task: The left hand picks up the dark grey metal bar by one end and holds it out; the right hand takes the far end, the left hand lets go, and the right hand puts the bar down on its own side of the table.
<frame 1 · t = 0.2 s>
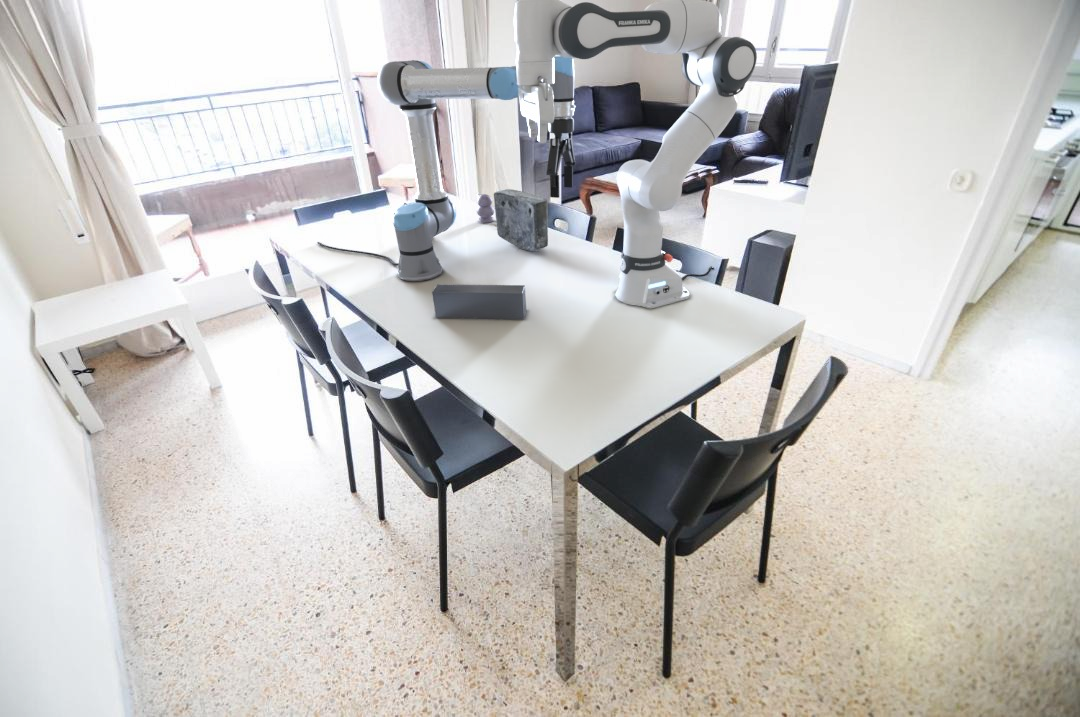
left hand: (561, 192, 156), 28 cm above the table, tool pointing down, fingers open, 13 cm apart
right hand: (537, 140, 123), 47 cm above the table, tool pointing down, fingers open, 8 cm apart
seal figurine: (419, 240, 208), on the table
concrete block: (524, 247, 197), on the table
purple stacked rounded piece: (486, 221, 230), on the table
bar: (481, 314, 147), on the table
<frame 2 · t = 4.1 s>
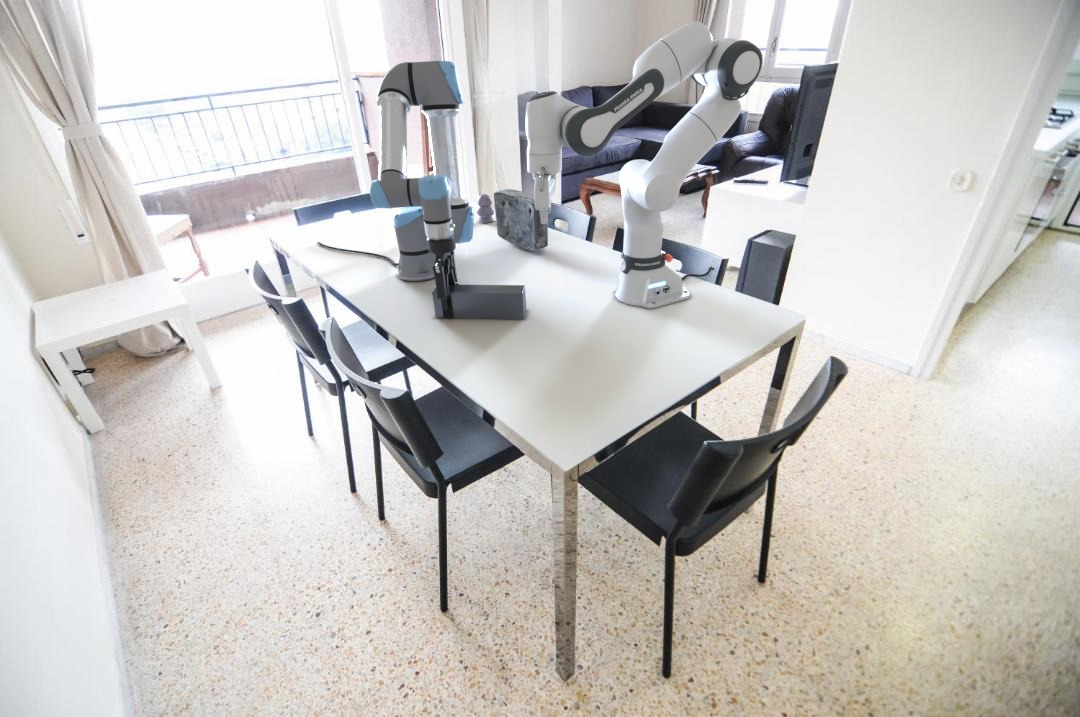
left hand: (451, 312, 147), 1 cm above the table, tool pointing down, fingers closed on bar, 6 cm apart
right hand: (546, 218, 134), 27 cm above the table, tool pointing down, fingers open, 8 cm apart
bar: (481, 314, 147), on the table, touching left hand
everything else where it was.
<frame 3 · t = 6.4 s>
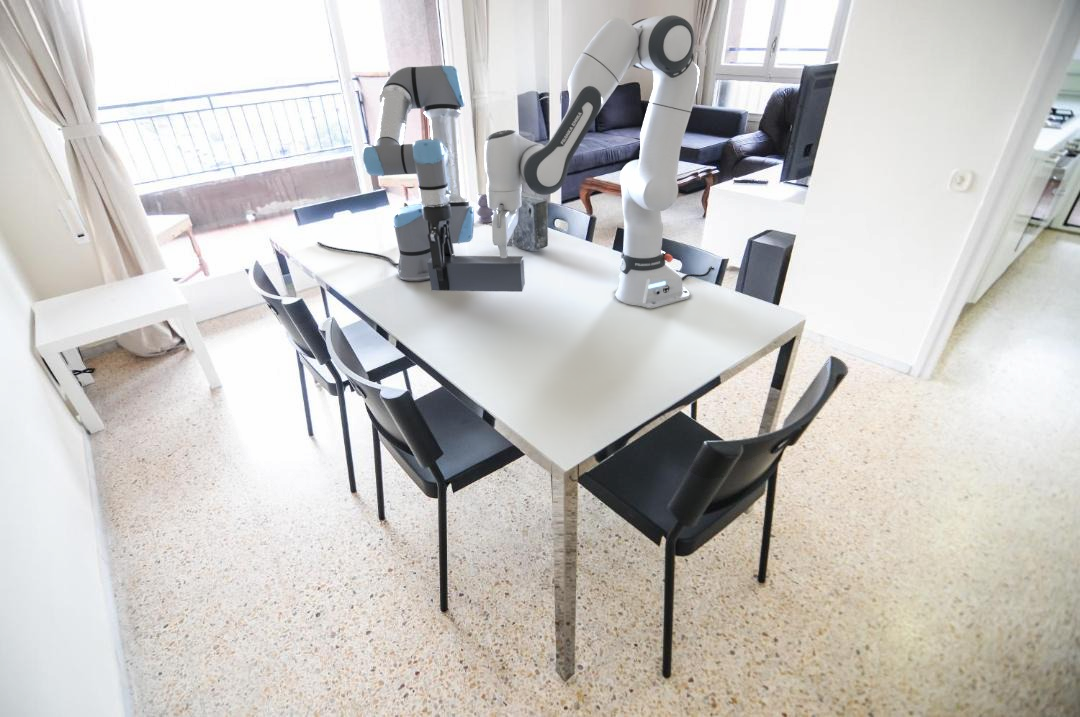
left hand: (447, 285, 143), 9 cm above the table, tool pointing down, fingers closed on bar, 6 cm apart
right hand: (506, 251, 136), 20 cm above the table, tool pointing down, fingers open, 8 cm apart
bar: (478, 287, 142), point 9 cm above the table, touching left hand
everything else where it was.
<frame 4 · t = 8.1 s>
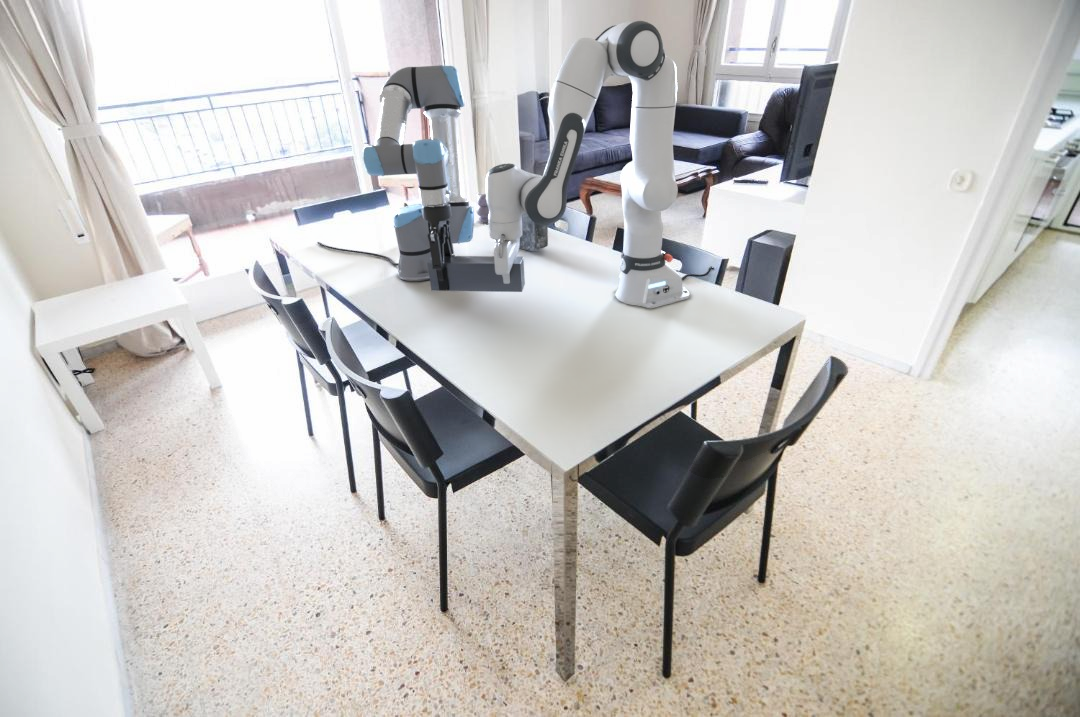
left hand: (447, 285, 143), 9 cm above the table, tool pointing down, fingers closed on bar, 6 cm apart
right hand: (509, 277, 140), 12 cm above the table, tool pointing down, fingers closed on bar, 5 cm apart
bar: (478, 287, 142), point 9 cm above the table, touching left hand, right hand
everything else where it was.
when the left hand's fingers open (9 cm above the table, at t = 8.9 s): bar stays where it is, held by the right hand.
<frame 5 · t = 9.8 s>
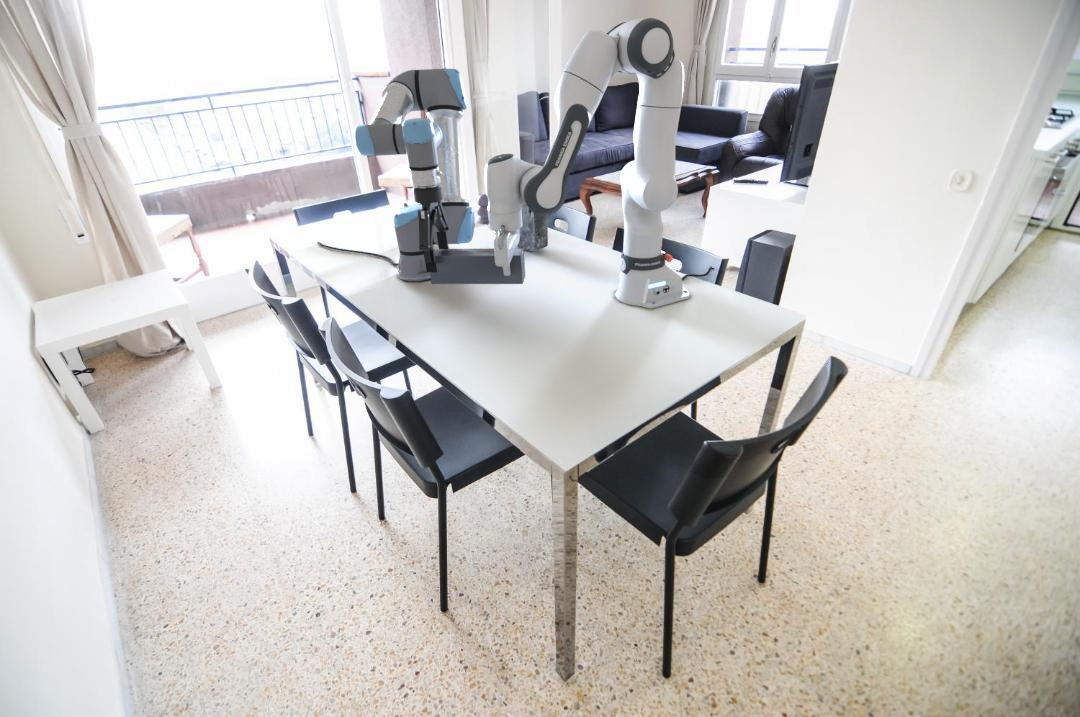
left hand: (438, 262, 140), 16 cm above the table, tool pointing down, fingers open, 13 cm apart
right hand: (509, 269, 138), 14 cm above the table, tool pointing down, fingers closed on bar, 5 cm apart
bar: (478, 280, 141), point 11 cm above the table, touching right hand
everything else where it was.
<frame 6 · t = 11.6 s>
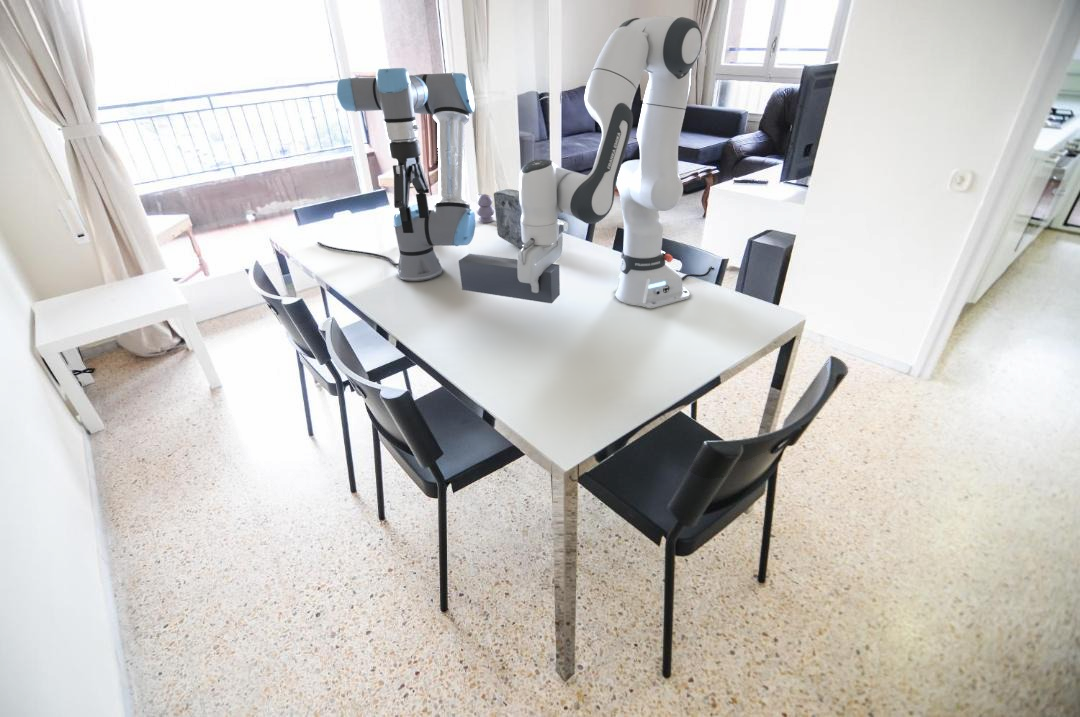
left hand: (417, 225, 134), 27 cm above the table, tool pointing down, fingers open, 13 cm apart
right hand: (541, 286, 126), 15 cm above the table, tool pointing down, fingers closed on bar, 5 cm apart
bar: (510, 292, 131), point 12 cm above the table, touching right hand
everything else where it was.
when the right hand's fingers open (5 cm above the table, at t = 15.4 s): bar drops 2 cm, on the table.
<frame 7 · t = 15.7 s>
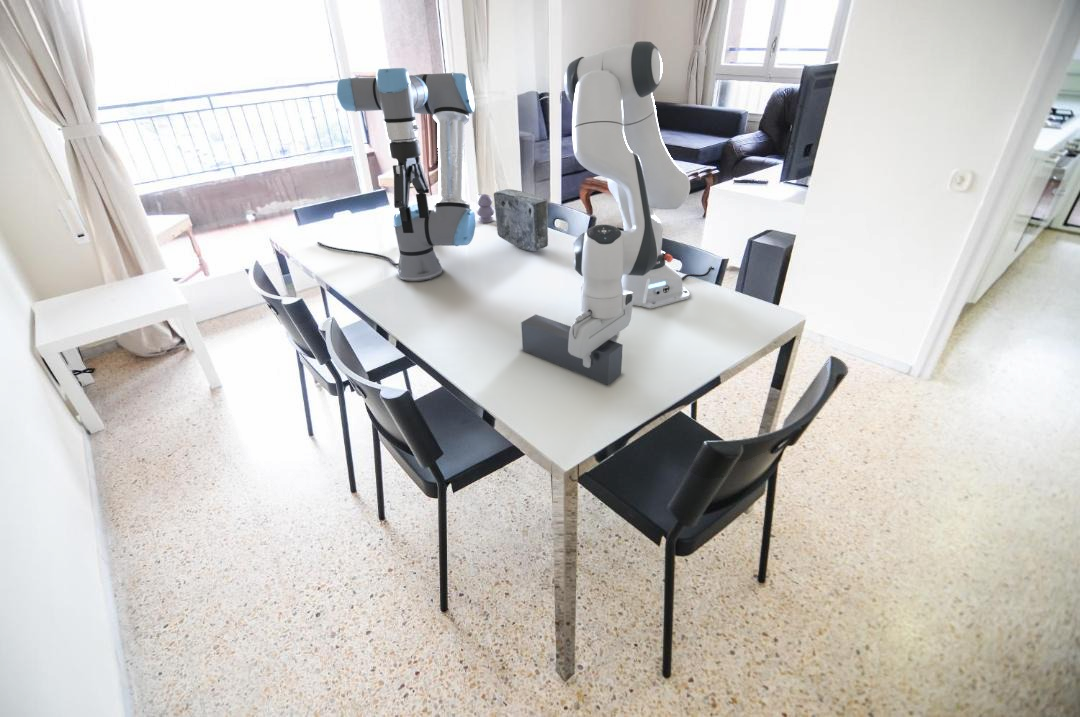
left hand: (417, 225, 134), 27 cm above the table, tool pointing down, fingers open, 13 cm apart
right hand: (599, 357, 115), 5 cm above the table, tool pointing down, fingers open, 8 cm apart
bar: (569, 362, 122), on the table
everything else where it was.
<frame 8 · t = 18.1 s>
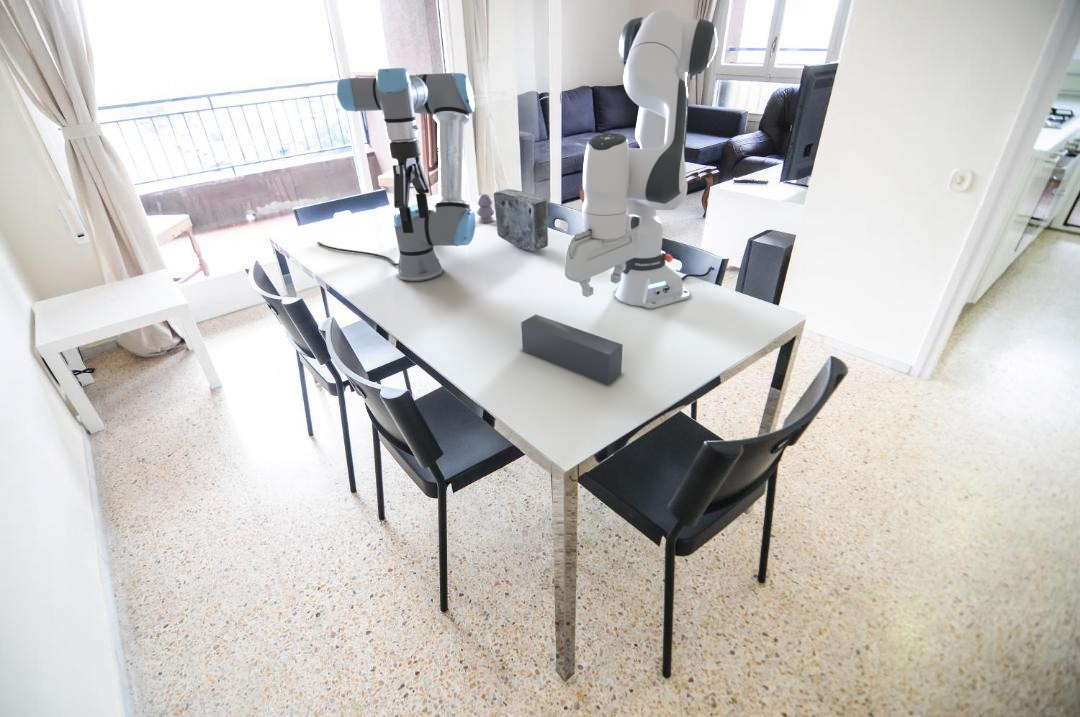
left hand: (417, 225, 134), 27 cm above the table, tool pointing down, fingers open, 13 cm apart
right hand: (602, 288, 106), 22 cm above the table, tool pointing down, fingers open, 8 cm apart
nothing on the table moved.
at the end: bar inside the target area (8.8 cm from its centre), on the table; the left hand is holding nothing; the right hand is holding nothing; bar at rest at the end (0.0 cm/s) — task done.
